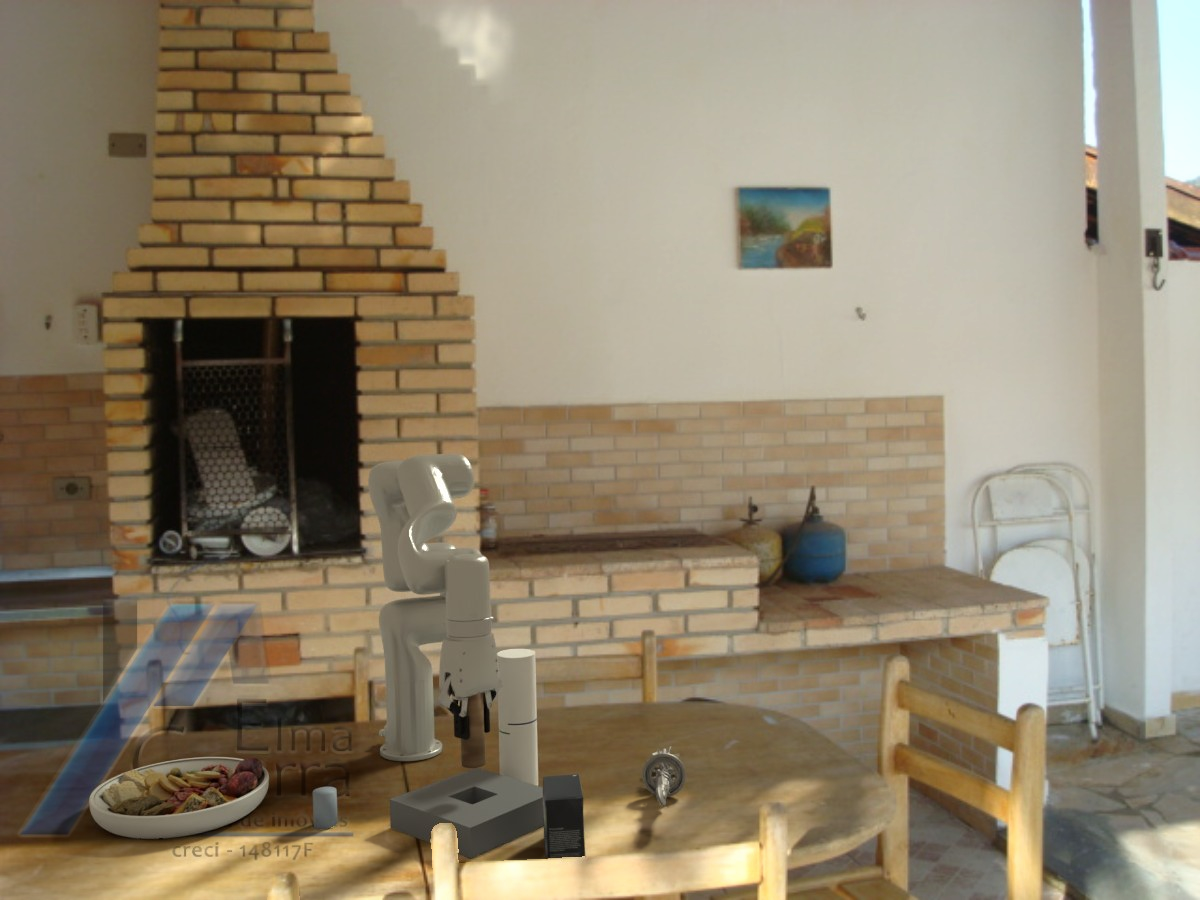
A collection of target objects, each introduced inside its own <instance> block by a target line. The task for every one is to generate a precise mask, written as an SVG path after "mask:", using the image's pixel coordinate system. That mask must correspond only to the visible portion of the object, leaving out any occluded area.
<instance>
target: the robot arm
mask: <svg viewBox="0 0 1200 900" xmlns="http://www.w3.org/2000/svg"><path fill="white" fill-rule="evenodd" d="M367 481H368V482H367V484H368V493H369V496H370V497H369V498H370V501H371V504H372V507H373V509H374V511H375V514H376V516H377V518H378V519H377V520H378V523H379V527H380V528H379V529H380V539H381V540H380V541H381V558H382V570H383V579H384V584H385V586H386V587H387V588H388V589H389V590H390V591H392V592H396V593H397V592H398V593H405V592H407V593H408V592H412V593H413V594H416V595H421V596H419V597H418V596H417V597H409V598H400V599H396V600H392V601H389V602H388V603H386V604H385V605H383V607H382V608H381V609H380V611H379V615H378V625H379V626H378V627H379V631H380V632H379V633H380V637H381V642H382V649H383V656H384V657H383V658H384V672H385V673H384V675H385V676H384V677H385V679H384V680H385V704H386V708H385V709H386V710H385V711H386V724H385V725H384V726H383V728H380V729H379V732H378V735H379V736H380V737H383V738H384V743H383V744H382V745H381V746H380V747H379V754H380V756H381V757H382V758H384V759H387V761H388V760H390V761H395V762H416V761H422V760H426V759H430V758H433V757H436V756H437V755H439V754H440V753H442V751H443V743H442V742H441V741H440V740H438V739H436V738H435V711H434V705H435V703H434V680H433V678H434V676H433V675H434V674H433V666H432V663H431V661H430V660H431V659H429V658H428V656H427V655H425V653H424V652H422V650H421V649H420V646H424V645H427V644H428V645H429V644H437V643H442V644H441V649H440V657H439V671H438V672H439V676H438V678H439V680H438V682H439V683H438V685H439V696H438V698H437V703H438V704H439V705H440V706H443V707H445V708H446V709H447V710H448V711H449V713H450V715H453V732H454V733H453V735H454V737H455V738H457V739H460V740H461V739H465V740H467V739H469V738H470V727H469V716H467V715H466V711H467V702H468V697H471V696H473V695H476V694H477V693H478V692H481V693H483V705H484V734H485V733H486V734H487V733H490V732H491V721H490V719H491V718H490V717H491V716H490V713H491V712H490V709H492V708H493V701H494V700H495V698H496V696H497V694H498V691H499V690H500V689H501V688H502V686H503V684H502V682H501V680H500V678H499V670H498V657H497V653H498V650H497V645H496V641H495V636H494V633H493V632H492V624H493V623H494V617H493V616H492V612H491V611H492V610H491V608H492V607H491V582H490V581H491V580H490V578H491V577H490V576H491V575H490V562H489V559H488V558H487V557H486V556H485V555H483V554H482V552H481V551H480V550H478V549H476V548H475V547H474V548H473V547H459V548H458V547H457V548H456V546H455V545H453V544H452V543H449V542H430V543H426V542H428V541H430V540H432V539H434V538H436V537H438V536H440V535H442V534H444V533H445V532H446V531H448V529H450V528H451V527H452V526H453V525H454V523H455V521H456V518H457V514H458V511H457V510H458V509H457V505H456V504H455V502H454V500H455V499H456V500H457V499H460V498H461V499H462V498H465V497H467V496H468V495H471V494H470V493H471V492H472V491H473V489H474V484H475V472H474V469H473V466H472V464H471V462H470V461H469V459H468V458H467V457H466V456H465V455H463V454H460V453H441V454H440V453H434V454H431V453H430V454H418V455H413V456H410V457H407V458H405V459H401V460H389V461H383V462H380V463H378V464H375V465H374V466H373V467H371V469H370V471H369V473H368V480H367ZM434 594H436V595H434ZM437 594H439V595H437ZM422 595H423V596H422ZM425 595H431V596H425Z"/></svg>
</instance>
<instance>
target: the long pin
mask: <svg viewBox="0 0 1200 900" xmlns="http://www.w3.org/2000/svg"><path fill="white" fill-rule="evenodd" d="M466 715H467V716H469V727H470V738H469V739H467V740H465V739H461V738H460V749H461V753H460V754H461V756H460V757H461V766H462V767H463V768H466V769H473V768H481V767H483V766H485V765H486V743H485V740H486V739H485V732H484V705H483V693H481V692H478V693H477V694H476V695H473V696H471V697H468V702H467V711H466Z"/></svg>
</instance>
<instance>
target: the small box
mask: <svg viewBox="0 0 1200 900" xmlns="http://www.w3.org/2000/svg"><path fill="white" fill-rule="evenodd" d="M542 787H543V824H544V826H543V837H544V846H545V847H544V848H545V857H546V859H547V858H562V857H582V856H585V857H586V842H585V841H586V840H585V823H584V821H585V819H584V794H583V793H584V792H583V787H582V783H581V777H580V774H578V773H577V774H576V773H575V774H562V775H559V774H558V775H548V776H546V775H545V776H543V777H542Z"/></svg>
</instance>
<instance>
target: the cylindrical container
mask: <svg viewBox="0 0 1200 900" xmlns="http://www.w3.org/2000/svg"><path fill="white" fill-rule="evenodd" d="M497 657H498V670H499V678H500V680H501V682H502V684H503V686H502V688H501V689H500V690H499V691H498V693H497V709H498V710H497V711H498V712H497V713H498V714H497V717H498V719H497V720H498V750H499V751H498V752H499V753H498V754H499V755H498V757H499V774H500V775H503V776H507V777H510V778H513V779H517V780H520V781H523V782H527V783H530V784H533V785H537V786H539V761H538V760H539V759H538V757H539V756H538V755H539V754H538V753H539V752H538V719H537V718H538V716H537V715H538V713H537V675H536V673H537V672H536V671H537V670H536V669H537V668H536V651H535V650H533V649H527V648H510V649H509V648H508V649H504V650H501V651H497Z"/></svg>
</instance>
